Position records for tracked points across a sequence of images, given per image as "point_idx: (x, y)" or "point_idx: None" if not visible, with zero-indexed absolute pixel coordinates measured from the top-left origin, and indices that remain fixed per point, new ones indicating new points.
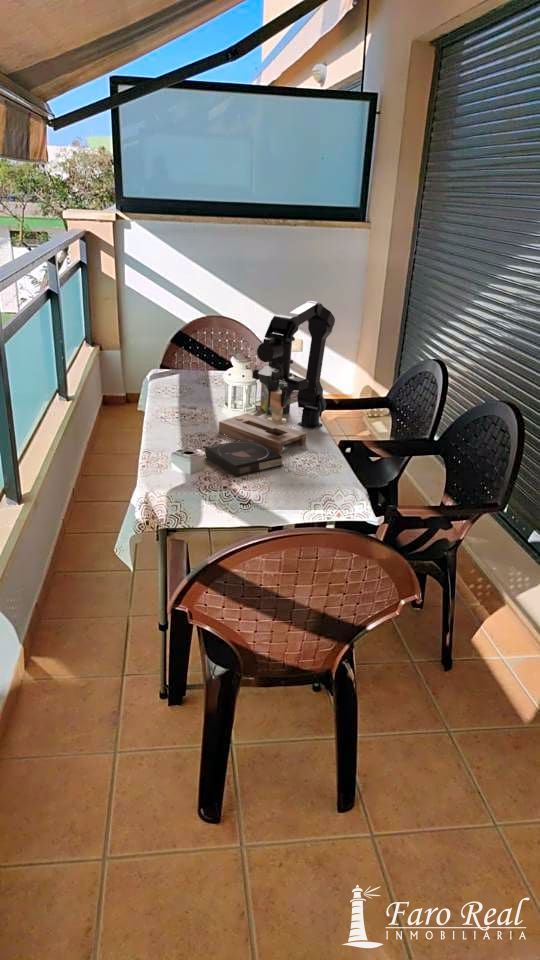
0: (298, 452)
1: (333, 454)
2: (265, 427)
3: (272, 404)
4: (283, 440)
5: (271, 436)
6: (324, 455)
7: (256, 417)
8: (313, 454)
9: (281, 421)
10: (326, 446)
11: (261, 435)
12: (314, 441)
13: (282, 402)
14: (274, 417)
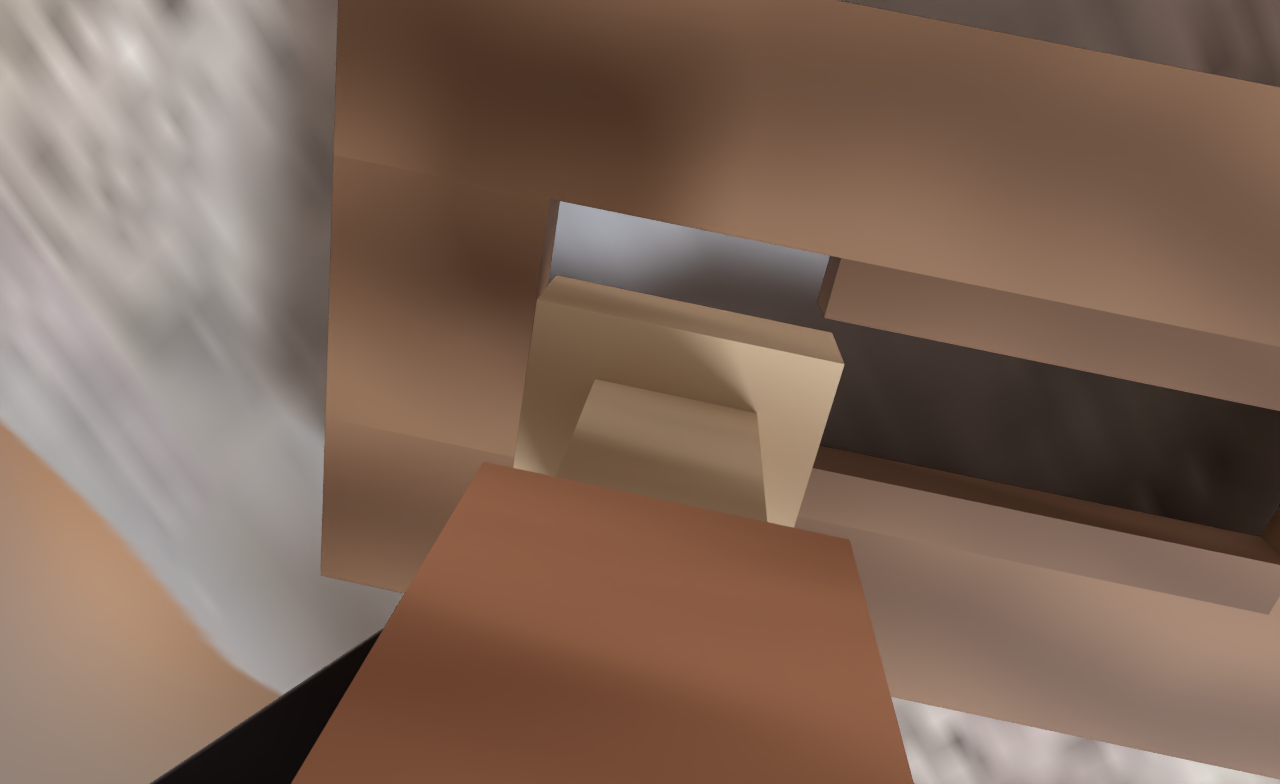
0: (294, 217)
1: (5, 411)
2: (928, 482)
3: (744, 575)
4: (364, 78)
5: (622, 119)
6: (40, 324)
7: (1212, 729)
8: (136, 273)
9: (523, 415)
10: (203, 570)
11: (793, 45)
12: (375, 624)
13: (317, 700)
14: (674, 414)
